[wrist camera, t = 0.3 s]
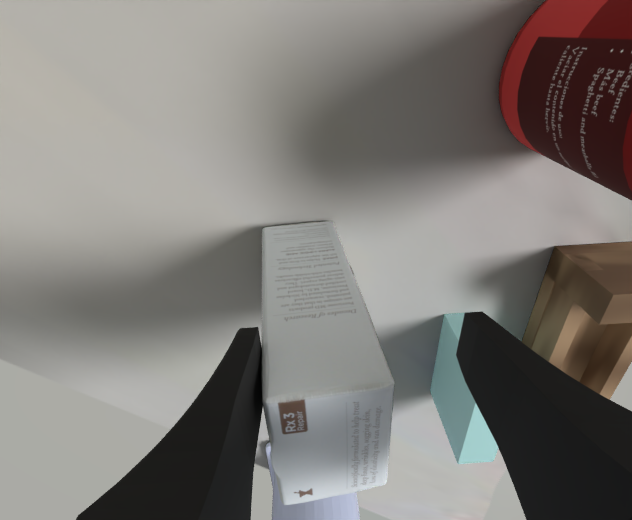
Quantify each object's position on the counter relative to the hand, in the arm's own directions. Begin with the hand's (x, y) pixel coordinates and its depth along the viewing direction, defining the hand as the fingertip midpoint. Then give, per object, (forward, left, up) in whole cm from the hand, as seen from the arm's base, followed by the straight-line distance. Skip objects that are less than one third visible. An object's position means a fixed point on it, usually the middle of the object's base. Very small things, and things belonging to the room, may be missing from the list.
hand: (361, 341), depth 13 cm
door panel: (-12, -9, -10) cm, 18 cm away
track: (-12, -17, -10) cm, 23 cm away
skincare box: (-3, +2, -10) cm, 10 cm away
